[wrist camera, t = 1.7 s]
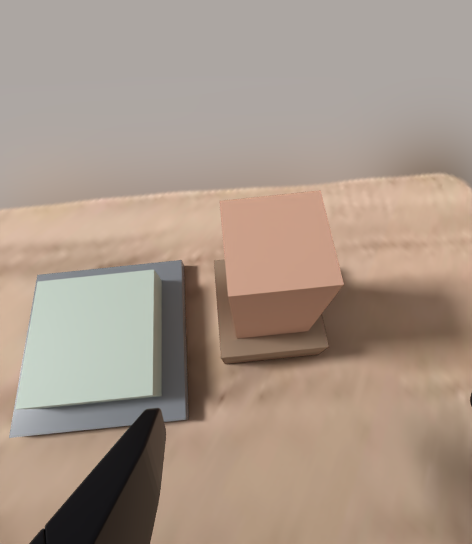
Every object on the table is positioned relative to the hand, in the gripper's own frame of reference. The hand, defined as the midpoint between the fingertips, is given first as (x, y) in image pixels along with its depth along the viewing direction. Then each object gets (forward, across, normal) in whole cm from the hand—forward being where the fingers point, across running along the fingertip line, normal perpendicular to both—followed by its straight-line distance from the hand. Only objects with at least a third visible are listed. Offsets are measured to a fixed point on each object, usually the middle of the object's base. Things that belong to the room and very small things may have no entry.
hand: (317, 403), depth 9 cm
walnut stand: (+13, 0, +4) cm, 14 cm away
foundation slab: (+12, +12, +4) cm, 17 cm away
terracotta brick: (+11, 0, +2) cm, 11 cm away
